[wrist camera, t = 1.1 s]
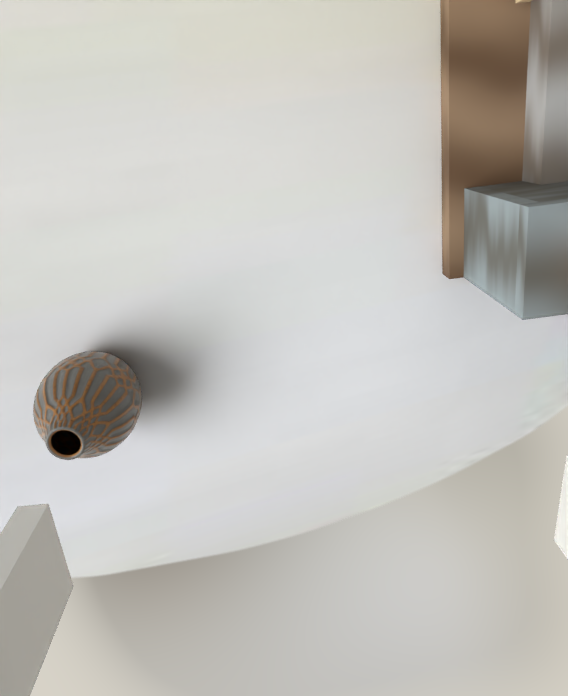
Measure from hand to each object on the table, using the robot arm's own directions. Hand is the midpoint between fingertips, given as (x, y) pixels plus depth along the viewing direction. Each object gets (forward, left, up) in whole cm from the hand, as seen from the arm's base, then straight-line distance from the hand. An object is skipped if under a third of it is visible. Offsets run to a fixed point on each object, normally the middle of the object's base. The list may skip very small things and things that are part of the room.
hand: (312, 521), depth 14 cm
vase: (+7, -14, -27) cm, 31 cm away
